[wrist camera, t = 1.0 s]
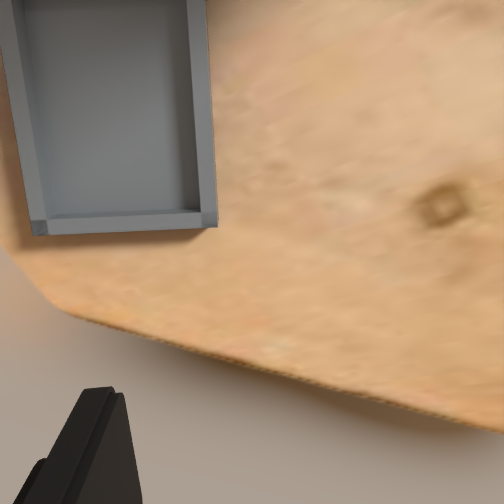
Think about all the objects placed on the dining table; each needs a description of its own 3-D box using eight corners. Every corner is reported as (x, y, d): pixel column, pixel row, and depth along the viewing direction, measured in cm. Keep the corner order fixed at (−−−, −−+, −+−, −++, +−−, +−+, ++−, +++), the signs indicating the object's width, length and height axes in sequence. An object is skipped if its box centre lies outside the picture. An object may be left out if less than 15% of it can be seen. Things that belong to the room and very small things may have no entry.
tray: (6, -20, 34) (-13, -32, 31) (204, -26, 34) (201, -38, 32) (46, 227, 39) (32, 235, 36) (218, 219, 39) (217, 227, 37)
